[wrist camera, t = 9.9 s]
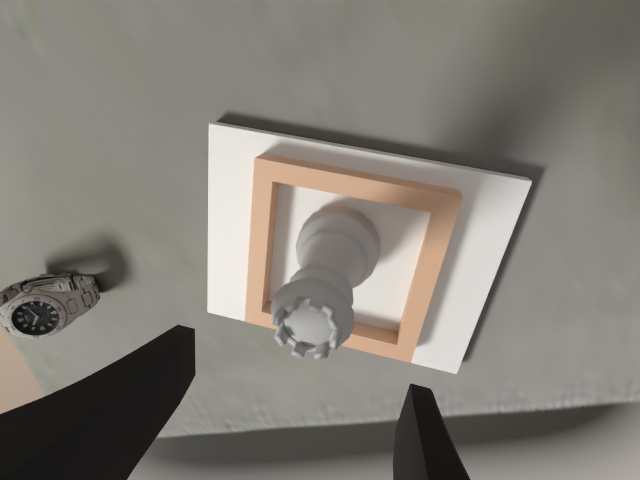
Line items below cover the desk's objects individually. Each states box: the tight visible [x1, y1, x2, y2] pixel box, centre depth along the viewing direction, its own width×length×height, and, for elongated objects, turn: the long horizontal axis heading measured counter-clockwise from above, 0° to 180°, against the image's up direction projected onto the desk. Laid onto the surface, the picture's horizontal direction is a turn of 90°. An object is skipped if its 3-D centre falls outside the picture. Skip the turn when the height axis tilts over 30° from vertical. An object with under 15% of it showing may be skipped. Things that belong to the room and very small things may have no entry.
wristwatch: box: [0, 273, 100, 339], centre depth 25 cm, size 4×6×5 cm, turn 94°
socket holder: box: [208, 122, 532, 374], centre depth 21 cm, size 16×12×2 cm
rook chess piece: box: [271, 206, 381, 360], centre depth 17 cm, size 4×4×8 cm
